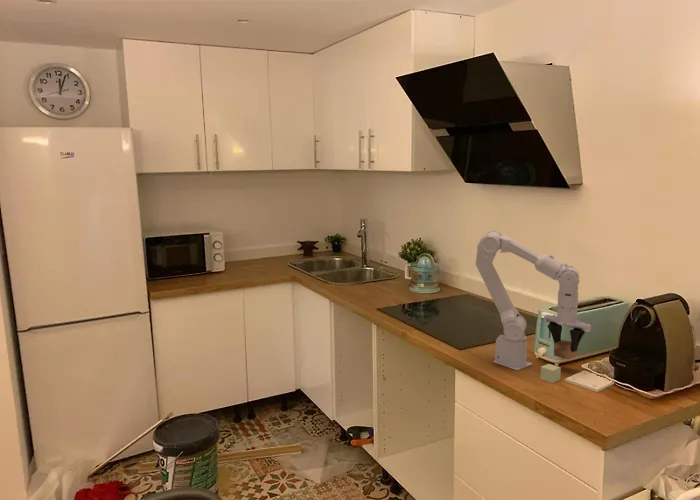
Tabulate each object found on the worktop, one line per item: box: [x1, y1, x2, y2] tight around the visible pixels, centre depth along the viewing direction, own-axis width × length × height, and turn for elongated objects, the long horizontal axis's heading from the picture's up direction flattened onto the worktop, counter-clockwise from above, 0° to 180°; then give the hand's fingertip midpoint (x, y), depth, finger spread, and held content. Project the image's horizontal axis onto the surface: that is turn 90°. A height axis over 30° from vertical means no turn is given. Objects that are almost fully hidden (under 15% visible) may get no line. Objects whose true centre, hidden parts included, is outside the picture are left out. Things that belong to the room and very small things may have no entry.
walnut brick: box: [553, 339, 579, 360], centre depth 165 cm, size 5×5×4 cm
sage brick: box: [540, 363, 562, 384], centre depth 158 cm, size 4×4×4 cm
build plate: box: [564, 370, 615, 393], centre depth 156 cm, size 10×10×1 cm
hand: (565, 348), depth 165 cm, fingers closed on walnut brick, 5 cm apart
